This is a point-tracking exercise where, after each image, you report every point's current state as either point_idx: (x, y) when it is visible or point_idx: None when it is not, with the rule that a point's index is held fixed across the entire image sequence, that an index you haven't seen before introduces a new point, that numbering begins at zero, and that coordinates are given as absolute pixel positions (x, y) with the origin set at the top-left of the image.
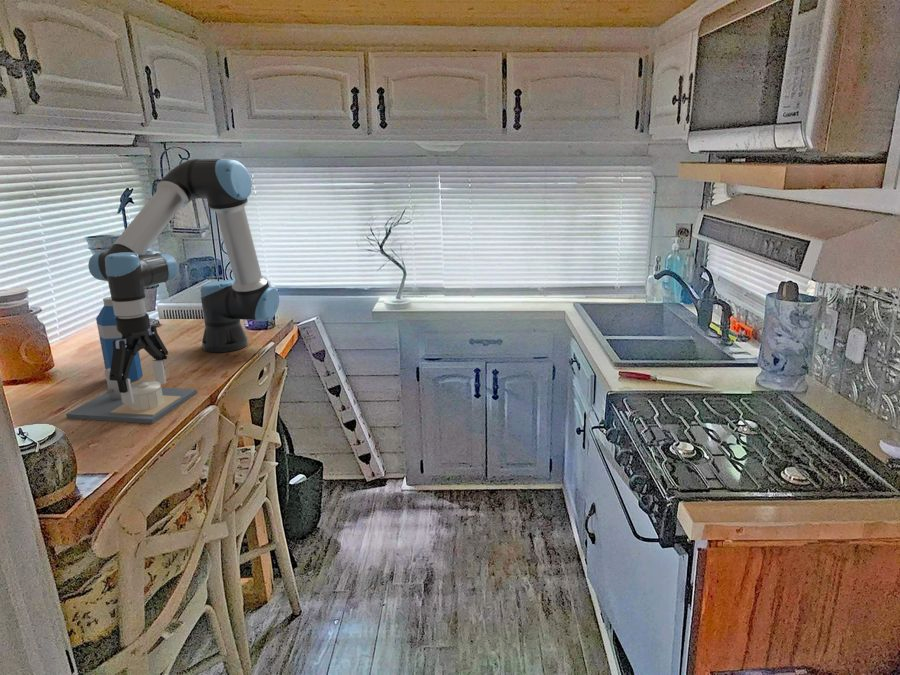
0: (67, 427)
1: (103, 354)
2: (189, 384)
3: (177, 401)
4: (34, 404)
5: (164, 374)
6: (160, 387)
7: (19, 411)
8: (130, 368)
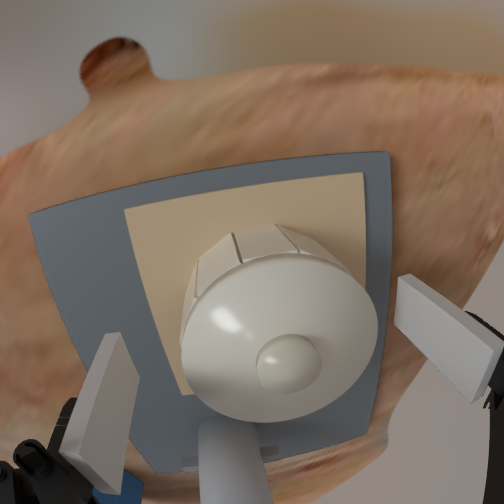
0: (411, 380)
1: None
2: (6, 312)
3: (177, 182)
4: (297, 499)
5: (96, 368)
6: (231, 272)
7: (330, 490)
8: (97, 493)
